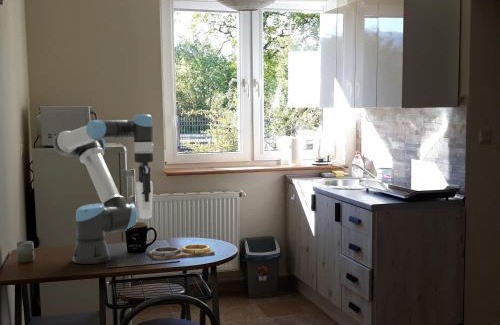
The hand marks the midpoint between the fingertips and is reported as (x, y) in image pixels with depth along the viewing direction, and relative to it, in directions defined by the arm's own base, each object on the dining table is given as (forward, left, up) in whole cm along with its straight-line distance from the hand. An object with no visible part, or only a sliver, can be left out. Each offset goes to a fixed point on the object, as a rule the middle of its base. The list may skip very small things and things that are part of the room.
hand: (144, 208), depth 239 cm
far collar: (+17, +18, -21) cm, 32 cm away
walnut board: (+11, +14, -22) cm, 29 cm away
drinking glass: (0, 0, -4) cm, 4 cm away
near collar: (+5, +11, -21) cm, 24 cm away
